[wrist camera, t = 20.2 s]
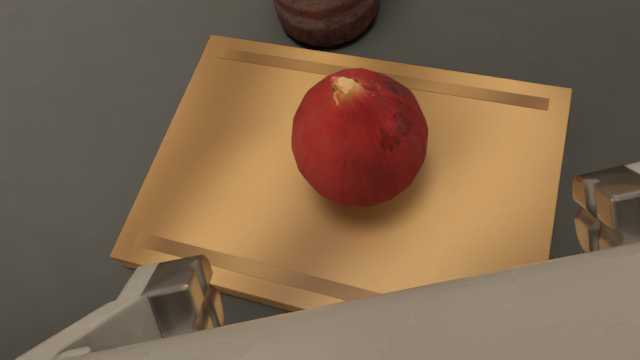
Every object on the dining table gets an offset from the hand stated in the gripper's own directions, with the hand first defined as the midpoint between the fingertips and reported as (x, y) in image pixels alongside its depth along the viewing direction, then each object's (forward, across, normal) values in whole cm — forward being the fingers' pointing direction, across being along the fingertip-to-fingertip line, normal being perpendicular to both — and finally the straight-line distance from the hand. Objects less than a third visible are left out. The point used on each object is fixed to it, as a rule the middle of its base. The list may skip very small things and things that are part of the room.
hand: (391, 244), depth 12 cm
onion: (+15, 0, +4) cm, 16 cm away
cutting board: (+16, +1, +4) cm, 17 cm away
